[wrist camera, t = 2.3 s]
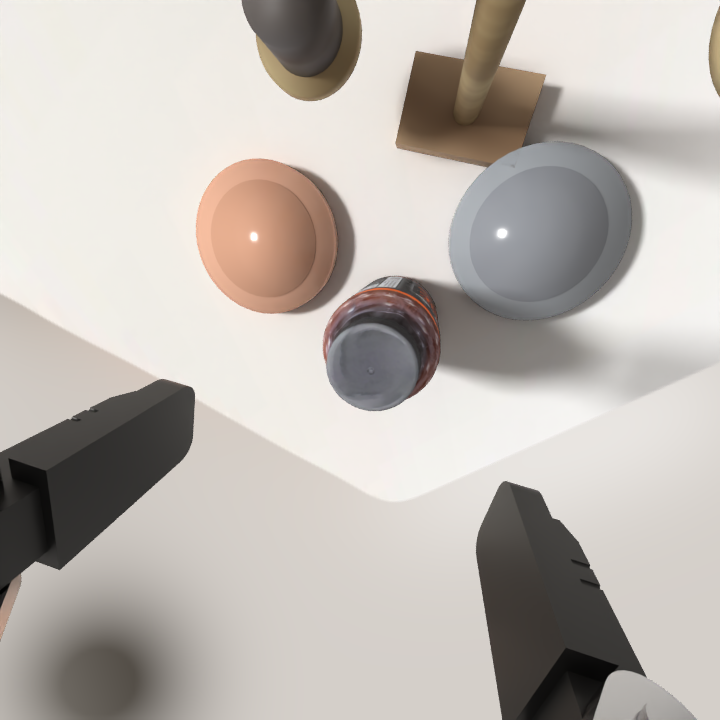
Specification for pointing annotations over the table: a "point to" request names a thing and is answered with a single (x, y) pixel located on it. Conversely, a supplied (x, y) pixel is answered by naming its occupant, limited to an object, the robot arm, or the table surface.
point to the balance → (417, 74)
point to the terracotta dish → (266, 236)
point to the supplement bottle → (382, 344)
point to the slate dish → (540, 230)
